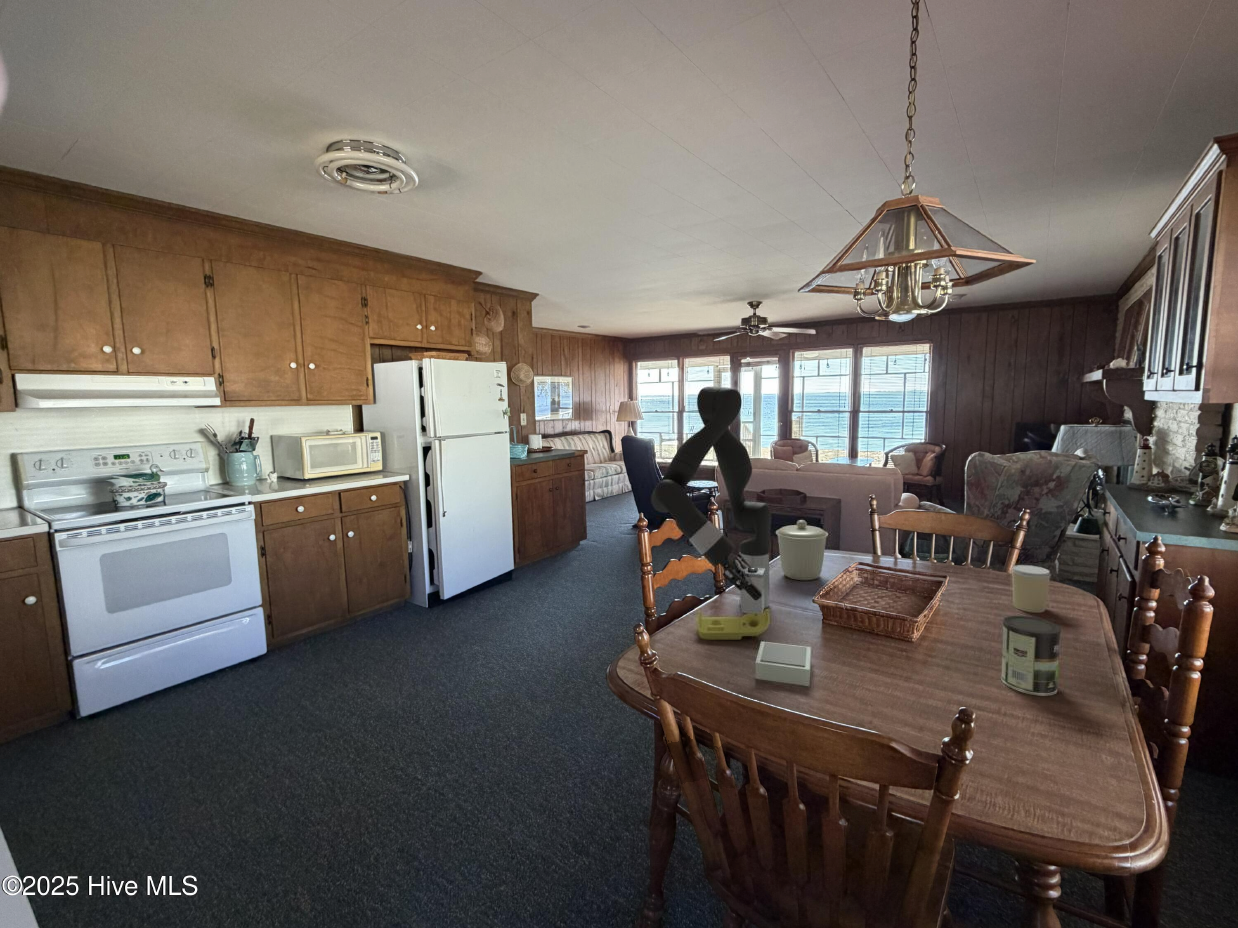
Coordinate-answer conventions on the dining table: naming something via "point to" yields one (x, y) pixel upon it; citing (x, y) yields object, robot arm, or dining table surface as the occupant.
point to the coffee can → (1030, 655)
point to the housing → (757, 580)
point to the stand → (784, 663)
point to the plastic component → (732, 626)
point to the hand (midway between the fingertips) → (760, 593)
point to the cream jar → (1030, 588)
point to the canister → (801, 550)
